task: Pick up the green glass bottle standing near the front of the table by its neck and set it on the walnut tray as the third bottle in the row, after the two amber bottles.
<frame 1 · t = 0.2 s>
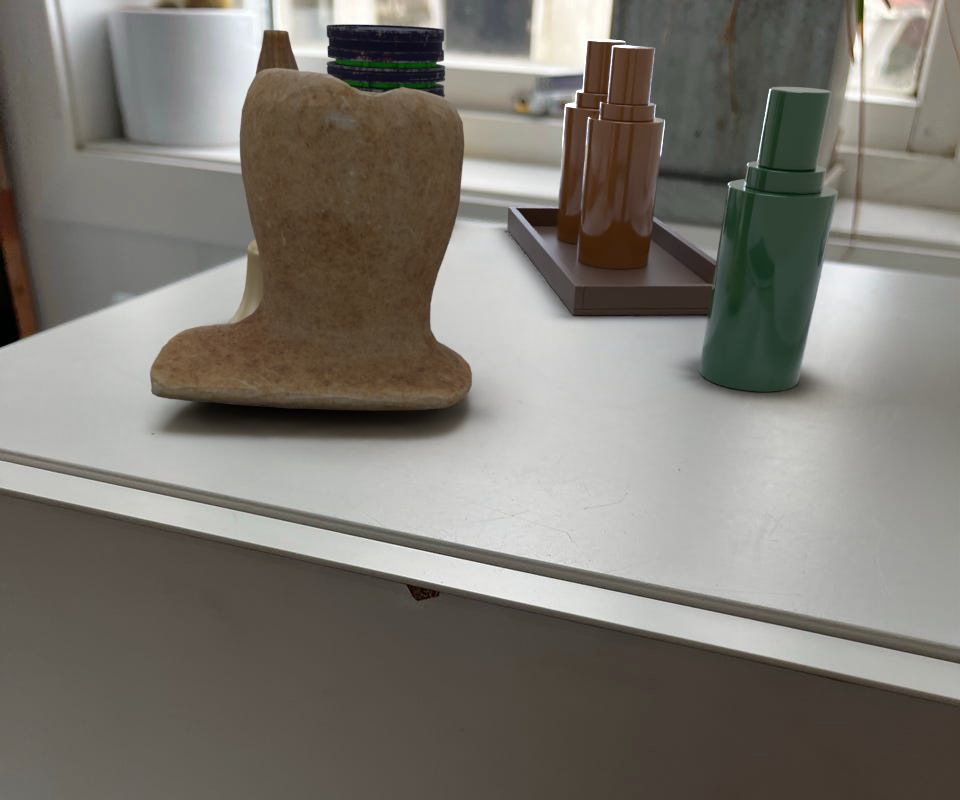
green bottle: (748, 375, 58), on the table
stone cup: (328, 397, 53), on the table
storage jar: (388, 223, 91), on the table
tray: (611, 266, 79), on the table
amber bottle 2: (612, 261, 79), resting on tray
hand bell: (292, 340, 61), on the table
amber bottle 1: (588, 238, 86), resting on tray
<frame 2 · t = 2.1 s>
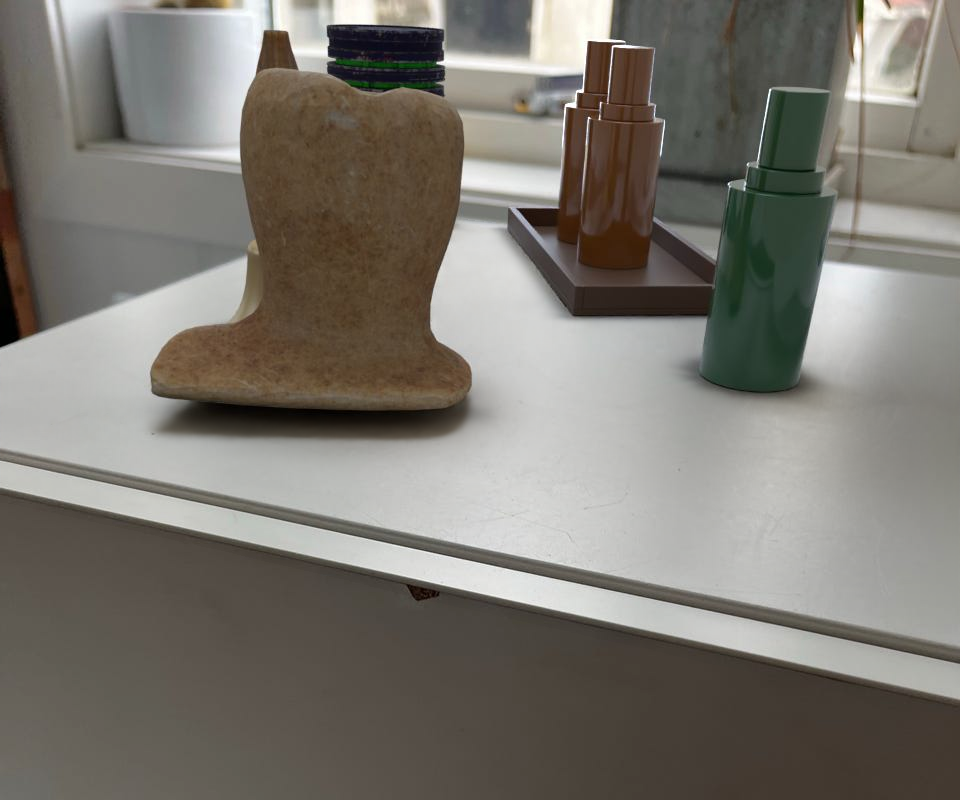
nothing on the table moved.
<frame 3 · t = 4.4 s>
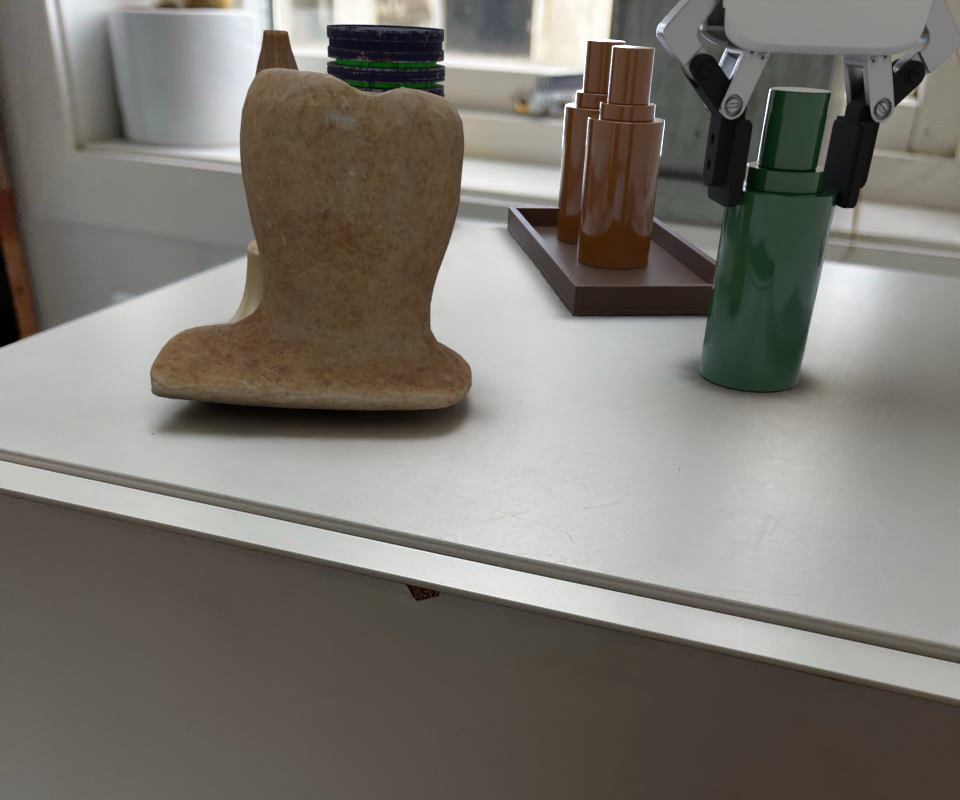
hand: (780, 199, 53), 9 cm above the table, tool pointing down, fingers closed on green bottle, 5 cm apart
green bottle: (748, 375, 58), on the table, touching gripper
everything else where it was.
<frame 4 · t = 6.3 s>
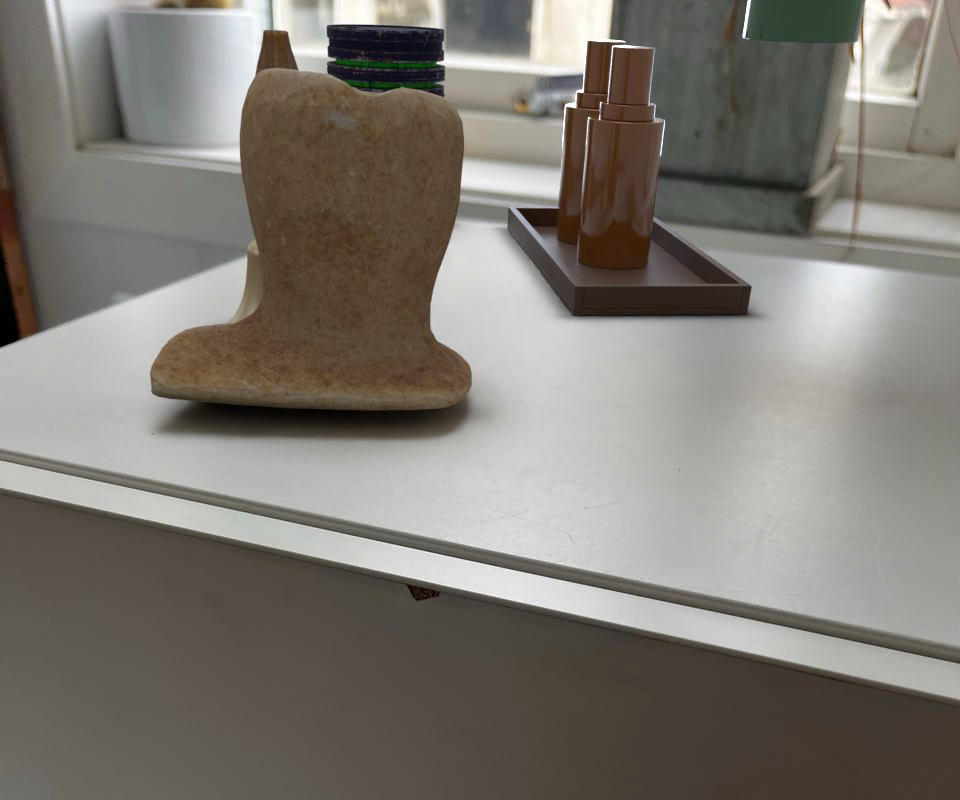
green bottle: (799, 39, 51), point 17 cm above the table, touching gripper
everything else where it was.
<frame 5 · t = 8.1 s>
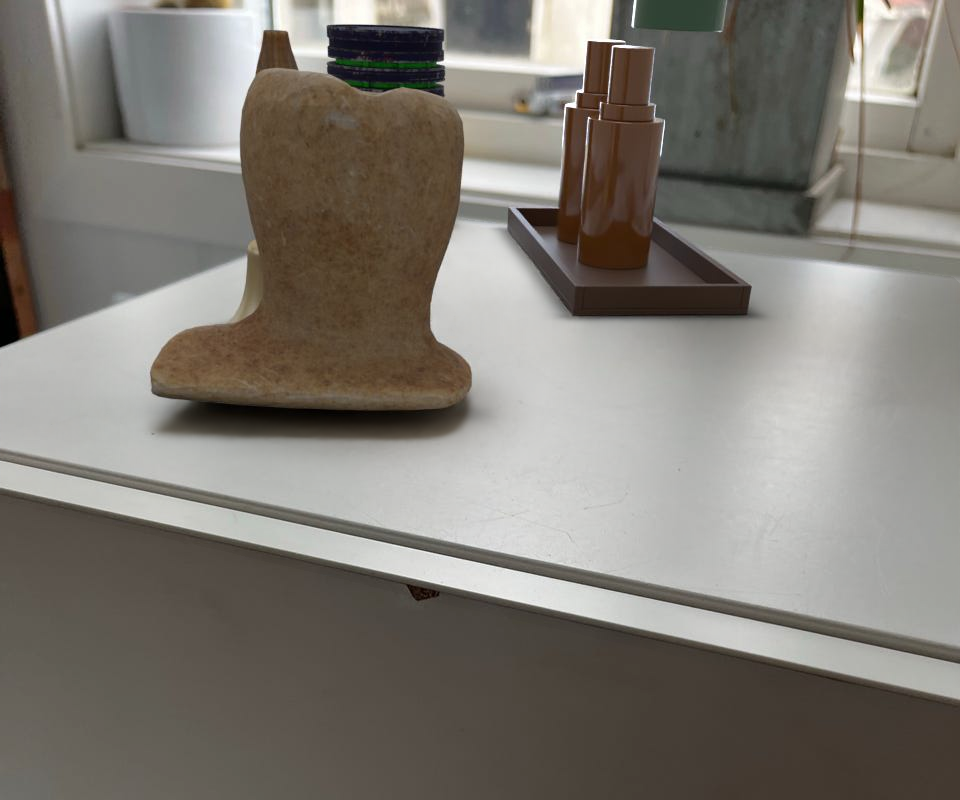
green bottle: (677, 29, 63), point 16 cm above the table, touching gripper
everything else where it was.
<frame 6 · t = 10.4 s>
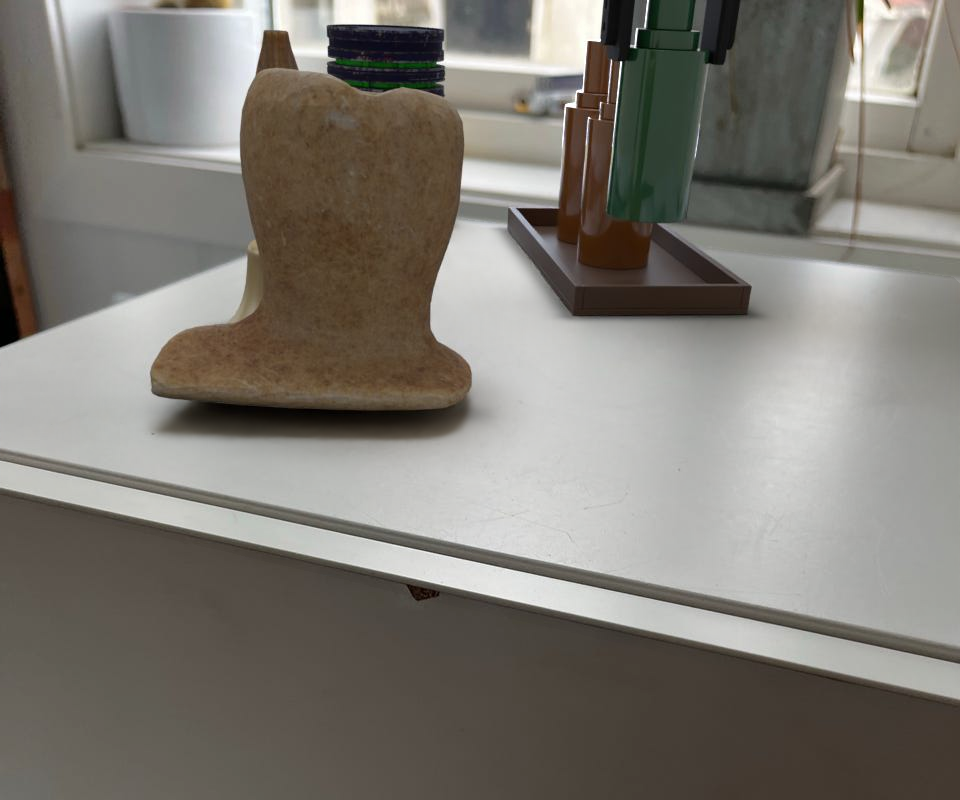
hand: (664, 58, 65), 15 cm above the table, tool pointing down, fingers closed on green bottle, 5 cm apart
green bottle: (645, 215, 70), point 5 cm above the table, touching gripper
everything else where it was.
when the fingers open (10 cm above the table, at t = 12.1 s): green bottle stays where it is, resting on tray.
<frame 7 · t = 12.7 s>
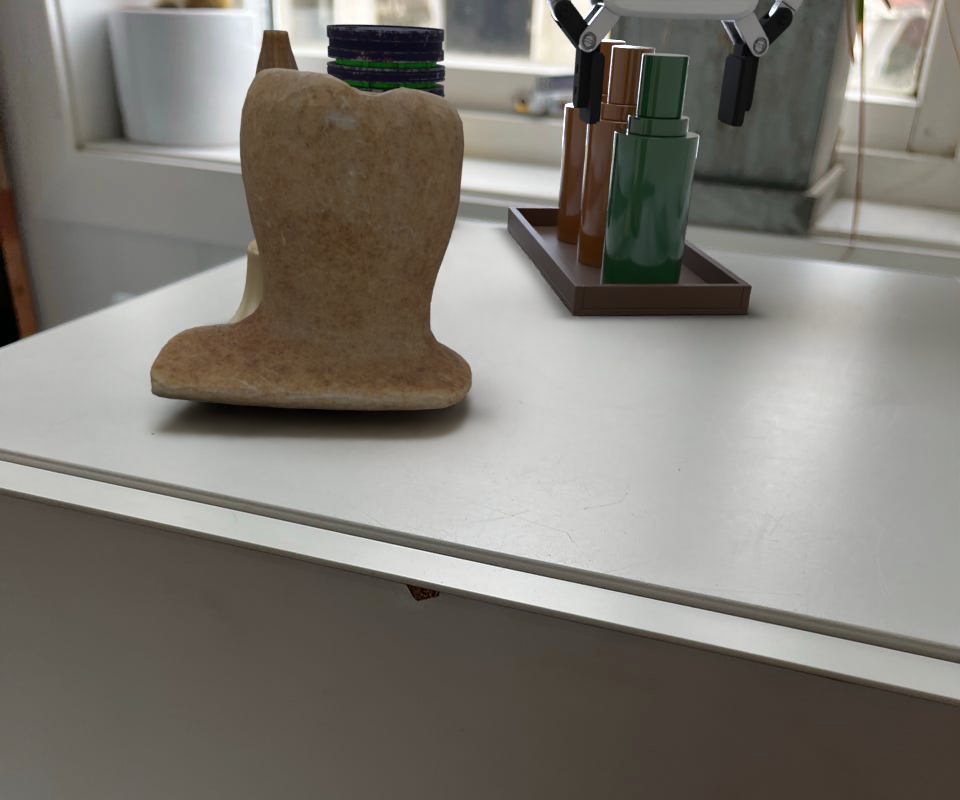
hand: (659, 122, 67), 11 cm above the table, tool pointing down, fingers open, 9 cm apart
green bottle: (638, 287, 72), resting on tray
everything else where it was.
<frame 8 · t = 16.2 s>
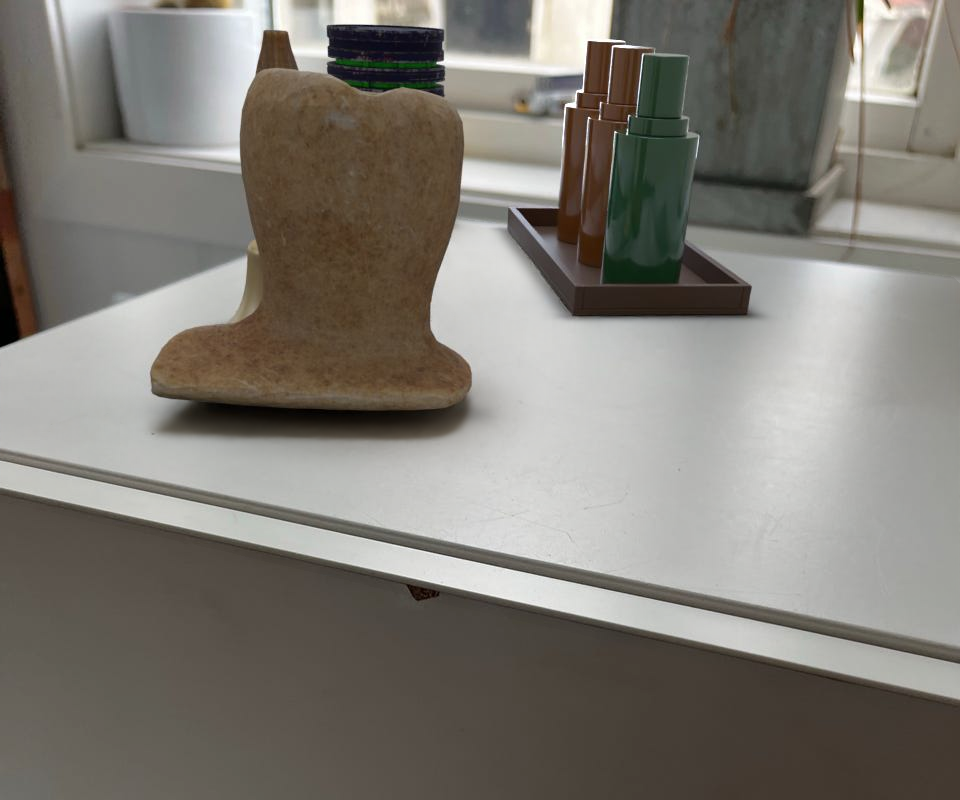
nothing on the table moved.
at the end: green bottle 0.1 cm from the target spot in the tray, point 0.4 cm above the tray's base; green bottle tilted 0°; the gripper is holding nothing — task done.
